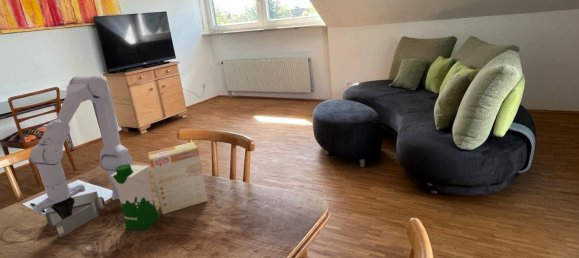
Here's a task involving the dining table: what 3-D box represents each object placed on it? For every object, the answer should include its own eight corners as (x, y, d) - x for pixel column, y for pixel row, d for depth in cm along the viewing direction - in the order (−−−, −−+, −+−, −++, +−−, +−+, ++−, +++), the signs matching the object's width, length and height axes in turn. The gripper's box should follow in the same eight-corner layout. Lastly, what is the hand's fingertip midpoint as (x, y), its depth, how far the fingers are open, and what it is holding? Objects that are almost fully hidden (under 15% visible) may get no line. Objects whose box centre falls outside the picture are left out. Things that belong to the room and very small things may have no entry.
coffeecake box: (203, 193, 129) (193, 141, 123) (208, 201, 123) (198, 147, 117) (159, 205, 123) (146, 151, 117) (162, 215, 117) (149, 158, 111)
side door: (97, 215, 120) (93, 202, 118) (99, 216, 119) (95, 202, 117) (58, 237, 109) (53, 223, 107) (61, 238, 108) (56, 224, 107)
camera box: (106, 204, 128) (102, 187, 126) (105, 214, 120) (100, 197, 118) (55, 216, 122) (49, 200, 120) (50, 229, 115) (44, 211, 113)
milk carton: (121, 230, 111) (104, 169, 104) (141, 214, 119) (127, 157, 112) (145, 233, 108) (129, 171, 101) (164, 216, 116) (150, 158, 109)
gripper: (70, 170, 117) (81, 208, 121) (21, 191, 105) (36, 232, 109) (84, 173, 113) (95, 211, 118) (35, 195, 101) (50, 237, 106)
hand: (68, 222), depth 113 cm, fingers closed
